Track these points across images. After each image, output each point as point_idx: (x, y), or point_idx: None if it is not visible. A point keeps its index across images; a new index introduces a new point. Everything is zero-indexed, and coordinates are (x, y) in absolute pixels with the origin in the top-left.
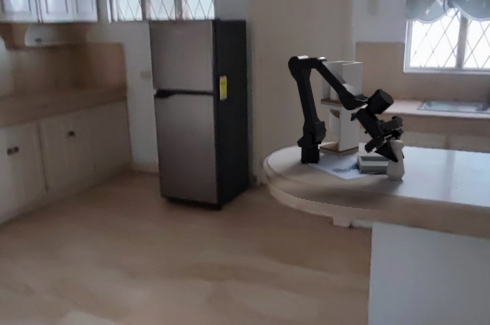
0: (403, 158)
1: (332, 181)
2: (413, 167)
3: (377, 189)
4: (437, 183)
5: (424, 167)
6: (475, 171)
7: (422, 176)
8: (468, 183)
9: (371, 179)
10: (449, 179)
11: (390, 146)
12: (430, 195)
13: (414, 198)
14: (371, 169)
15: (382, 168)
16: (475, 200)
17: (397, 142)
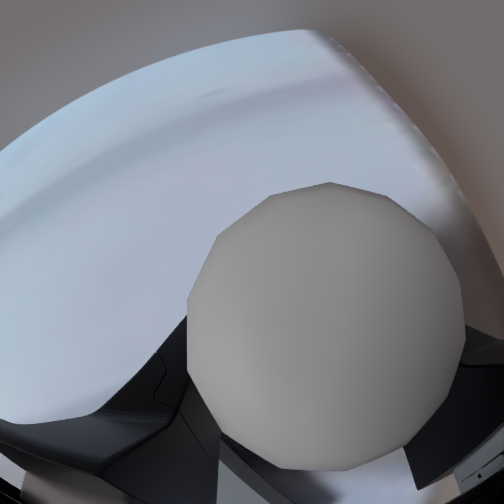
0: None
1: None
2: (45, 348)
3: (463, 293)
4: (201, 150)
5: (25, 306)
6: (17, 154)
7: (140, 246)
8: (137, 97)
9: None
10: (122, 149)
11: (204, 487)
12: (357, 116)
13: (423, 145)
14: (269, 492)
15: (224, 455)
16: (285, 42)
17: (443, 258)
